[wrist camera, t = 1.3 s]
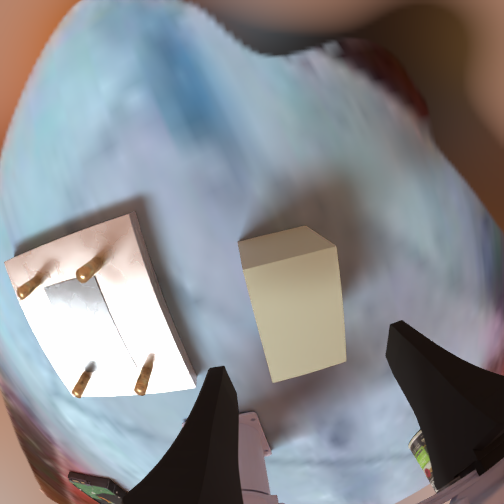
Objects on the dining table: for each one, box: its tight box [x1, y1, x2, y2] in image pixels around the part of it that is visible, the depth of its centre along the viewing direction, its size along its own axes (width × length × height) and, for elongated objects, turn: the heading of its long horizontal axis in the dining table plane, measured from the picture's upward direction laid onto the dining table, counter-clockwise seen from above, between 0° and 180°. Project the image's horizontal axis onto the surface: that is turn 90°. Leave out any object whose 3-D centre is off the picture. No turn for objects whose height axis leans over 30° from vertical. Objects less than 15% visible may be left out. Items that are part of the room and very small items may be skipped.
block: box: [238, 225, 346, 383], centre depth 18 cm, size 8×5×6 cm, turn 13°
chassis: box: [4, 211, 197, 398], centre depth 18 cm, size 15×14×4 cm
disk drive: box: [68, 472, 127, 504], centre depth 29 cm, size 10×3×15 cm
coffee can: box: [409, 430, 461, 494], centre depth 25 cm, size 10×10×14 cm
